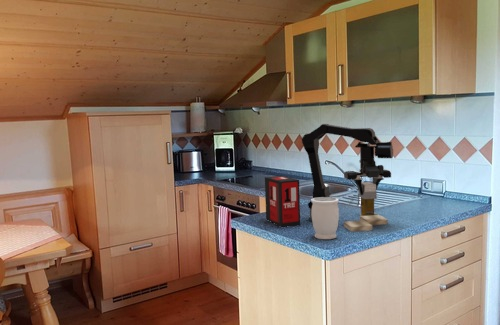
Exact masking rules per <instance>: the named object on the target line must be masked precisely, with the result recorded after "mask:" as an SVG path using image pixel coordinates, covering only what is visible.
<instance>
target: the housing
mask: <svg viewBox="0 0 500 325" xmlns="http://www.w3.org/2000/svg"><path fill="white" fill-rule="evenodd" d="M361 184H362V195H360V192H359V191H358V197H359V198H360V199H361V198H363V199H374V200H375V199H377V197H378V196H377V194H378V192H377V190H376V184H374V183H373V182H372V181H366V182H365V181H362V183H361Z"/></svg>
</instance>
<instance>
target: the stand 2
mask: <svg viewBox="0 0 500 325" xmlns="http://www.w3.org/2000/svg"><path fill="white" fill-rule="evenodd" d="M363 220H364V221H366V222H368V223H369V224H371V225H372V226H379V225H388V224H389V222H388V220H389V219H388V218H386V217H384V216H382V215H381V214H378V215H370V216H361V215H359V221H363Z"/></svg>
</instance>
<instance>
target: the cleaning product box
mask: <svg viewBox="0 0 500 325" xmlns="http://www.w3.org/2000/svg"><path fill="white" fill-rule="evenodd" d="M264 192H265V193H264V196H265V220H266V219H267V220H269V221H271V222H273V223H275V224H277V225H279V226H281V227H285V228H288V227H287V226H292V227H298V226H297V225H299V226H301V204H300V203H301V202H300V201H301V200H300V198H301V197H300V196H301V194H300V179H297V178H294V177H289V176H285V175H274V176H265V177H264ZM267 220H266V221H267ZM269 221H268V222H269ZM271 222H270V223H271ZM273 223H272V224H273ZM275 224H274V225H275ZM277 225H276V226H277ZM279 226H278V227H279ZM281 227H280V228H281Z"/></svg>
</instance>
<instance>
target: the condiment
mask: <svg viewBox="0 0 500 325" xmlns="http://www.w3.org/2000/svg"><path fill="white" fill-rule="evenodd" d="M358 215H359V216H370V215H379V214H378V213H377V212H375V199H363V198H361V197H360V213H358Z"/></svg>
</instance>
